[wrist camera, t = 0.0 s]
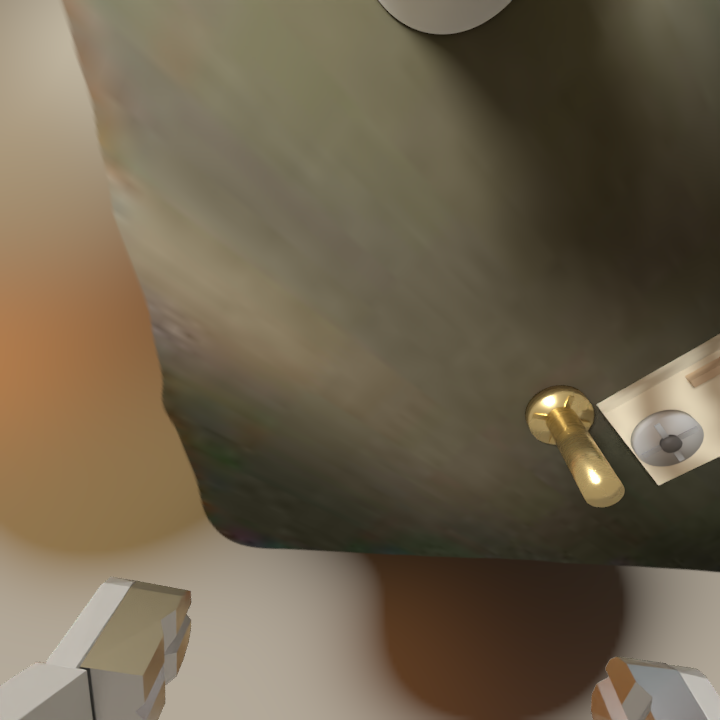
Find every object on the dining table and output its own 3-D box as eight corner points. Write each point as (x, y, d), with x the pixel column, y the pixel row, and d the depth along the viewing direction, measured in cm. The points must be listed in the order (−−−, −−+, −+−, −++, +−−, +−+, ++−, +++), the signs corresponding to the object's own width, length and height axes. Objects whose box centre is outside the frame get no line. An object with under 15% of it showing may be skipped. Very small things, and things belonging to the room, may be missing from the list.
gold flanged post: (536, 380, 49) (580, 456, 38) (598, 390, 49) (660, 469, 38) (517, 431, 52) (552, 515, 41) (575, 440, 53) (626, 526, 41)
